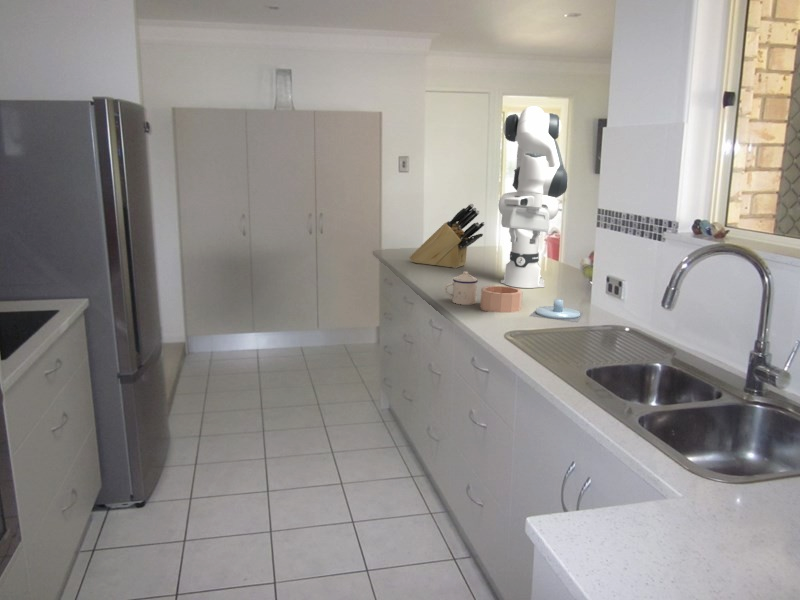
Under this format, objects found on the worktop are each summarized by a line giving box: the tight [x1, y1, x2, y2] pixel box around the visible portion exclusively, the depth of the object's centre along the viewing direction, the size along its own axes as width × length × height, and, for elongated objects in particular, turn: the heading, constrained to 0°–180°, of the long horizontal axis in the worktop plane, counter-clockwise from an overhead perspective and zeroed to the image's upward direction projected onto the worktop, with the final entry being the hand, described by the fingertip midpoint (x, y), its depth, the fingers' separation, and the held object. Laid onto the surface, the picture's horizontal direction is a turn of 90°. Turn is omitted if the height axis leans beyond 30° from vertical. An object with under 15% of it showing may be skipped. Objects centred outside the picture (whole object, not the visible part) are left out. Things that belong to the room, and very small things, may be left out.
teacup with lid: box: [444, 270, 478, 306], centre depth 239 cm, size 12×9×12 cm
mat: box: [529, 309, 585, 323], centre depth 225 cm, size 16×16×1 cm
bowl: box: [479, 285, 524, 313], centre depth 231 cm, size 14×14×7 cm
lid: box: [535, 298, 581, 320], centre depth 225 cm, size 15×15×5 cm
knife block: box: [409, 203, 486, 269], centre depth 316 cm, size 11×35×31 cm, turn 61°
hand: (523, 243), depth 218 cm, fingers open, 8 cm apart
